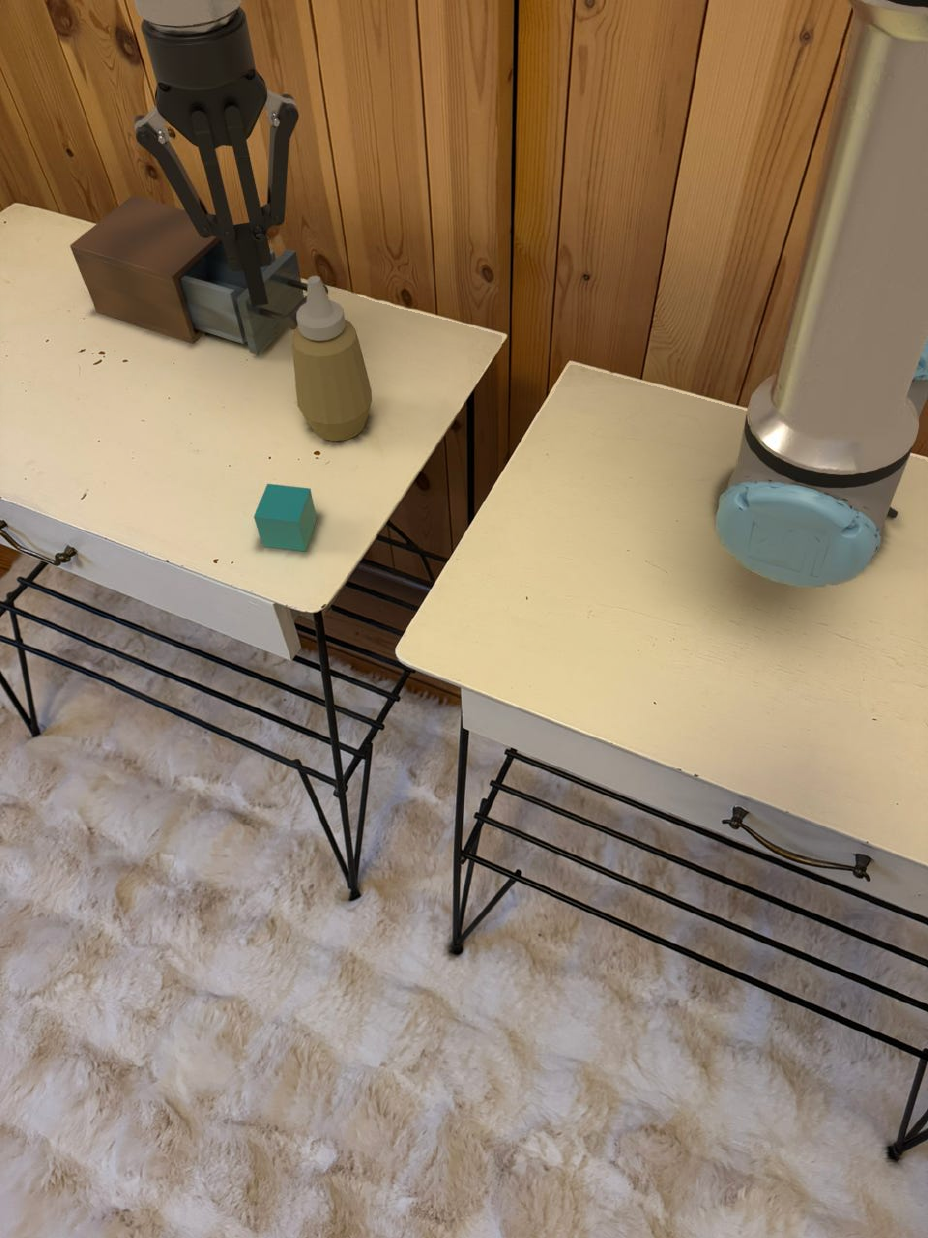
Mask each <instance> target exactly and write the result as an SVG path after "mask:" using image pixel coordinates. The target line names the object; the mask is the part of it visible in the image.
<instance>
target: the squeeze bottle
mask: <svg viewBox="0 0 928 1238" xmlns="http://www.w3.org/2000/svg"><path fill="white" fill-rule="evenodd" d="M307 284H308V288H307V291H306V296H307V302H306V303H305V304H303V305H302V306H301V307H300V308H299V309H298V311H297V314H296V319H297V324H298V326H297V327H296V328H295V329H294V330H293V331H292V333H291V350H292V360H293V372H294V373H293V374H294V383H295V394H296V407H297V408H298V410H299V411H300V412H301V414H302V416H303V417H304V419H305V420H306V421H307V423H308V425H309V426H310V428H311V429H312V430H313V431H314V433H315V434H316V435H317V436H318V437H319V438H322V439H323V440H326V441H331V442H340V441H343V442H344V441H347V440H350V439H353V438H355V437H356V436H358V435H359V434H360V433H362V431H363V430H364V428H365V426H366V423H367V421H368V417H369V413H370V409H371V405H372V402H373V391H372V385H371V382H370V379H369V375H368V370H367V367H366V364H365V358H364V356H363V352H362V348H361V345H360V340H359V337H358V332H357V329H356V327H355V326H354V325H353V323H352V322H351V321H350V320H347V318H346V317H345V309H344V307H343V306H342V304H340V303H339V302H338V301H335V300H333V299H330V298H329V296H328V295H327V293H326V291H325V289H324V286H323V284H324V283H323V281H322V279H321V277H320V276H318V275H312V276H310V277H308V279H307Z"/></svg>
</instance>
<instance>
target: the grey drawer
mask: <svg viewBox="0 0 928 1238" xmlns="http://www.w3.org/2000/svg"><path fill="white" fill-rule="evenodd" d="M270 253H271V258H272V262H271V265H269V266H263V267H260V268H261V273H262V277H263V282H264V286H265V291H266V295H267V299H268V304H265V305H259V306H254V307H252V303H251V299H250V295H249V290H248V286H247V282H246V278H245V274H244V270H241V271H236V272H233V271H232V270H231V269H230V267H229V264H228V260H227V256H226V252H225V248H224V244H223V241H222V240H220V241H219V242H218V243H217V244H216V245H215V246H214V247H213V248H211V249H210V250H209V251H208V252H207V253H206V254H205V255H204V256H203V257H202V258H201V259H199V260H198V261H197V262H196V263H195V264H194V265H193V266H192V267H191V268H190V269H188V270H187V271H186V272H185V273H184V274H183V275H182V276H181V277H180V278H179V279H178V280H179V284H180V287H181V290H182V293H183V296H184V300H185V303H186V306H187V309H188V312H189V316H190V319H191V322H192V325H193V328H195V329H198V330H201V331H204V332H205V333H207V334H211V335H215V336H217V337H220V338H223V339H226V340H229V341H233V342H235V343H239V344H241V345H244V344H245V343H246V342H247V346H248V350H249V353H250V354H253V355H255V356H259V355H261V354H262V353H263V351H265V349H266V348H267V347H268V346H269V345H270V344H271V343H272V342H273V341H274V340H275V339H276V338H277V336H279V334H280V333H282V331H283V330H284V329H285V328H286V327H287V328H288V329H289V330H291V331H292V330H293V331H294V330H295V328H296V327H297V326H298V324H297V319H296V314H297V311H298V309H299V308H300V307H301V306H302V305H303V304H305V303H306V302H307V295H305V294H304V292H307V288H308V283H307V282H306V283H305V282H302V278H301V273H300V272H301V271H300V267H299V261H298V256H297V252H296V251H295V250H292V249H289V248H286V249H285V250H284V251H283V252H282V253H281V254H280V255H279V256H277V257H276V253H275V250H273V249H270ZM322 284H323V286H324V289H325V291H326V293H327V296H328V295H329V289H328V287H327V285H325V284H324V283H322Z"/></svg>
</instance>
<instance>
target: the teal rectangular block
mask: <svg viewBox="0 0 928 1238" xmlns="http://www.w3.org/2000/svg"><path fill="white" fill-rule="evenodd" d="M261 495H262V496H261V498H260V501H259V503H258V506H257V508H256V511H255V513H254V516H253V519H254V522H255V526H256V528H257V531H258V534H259V538H260V541H261V545H262V547H264V548H272V549H279V550H280V549H282V550H288V551H297V552H307V549H308V547H309V544H310V542H311V541H310V540H311V538H312V535H313V532H314V529H315V527H316V523H317V520H318V515H317V512H316V507H315V502H314V498H313V494H312V490H311V488H309V487H299V486H291V485H283V484H274V483H266V486H265V488H264V491H263V493H262V494H261Z"/></svg>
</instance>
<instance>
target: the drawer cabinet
mask: <svg viewBox="0 0 928 1238" xmlns="http://www.w3.org/2000/svg"><path fill="white" fill-rule="evenodd" d="M220 240H221V239H220V238H218V237H215V236H210V237H209V238H203V237H201V236H200V235H199V234H198V232H197V230H196V228H195V226H194V225H193V223H192V221H191V219H190V218H189V216H188V214H187V212H186V211H185V209H182V208H178V207H175V206H171V205H169V204H164V203H161V202H157V201H154V200H150V199H146V198H143V197H140V196H136V195H131V196H129V197H128V198H127V199H125V201H124V202H122V203H121V204H120V205H118V206H117V207H116V208H115V209H114V210H112V211H111V212H110V213H108V214H107V215H106V216H105V217H103V218H102V219H100V221H98V222H97V223H96V224H95V225H93V226H92V227H91V228H90V229H88V230H87V231H86V232H85V233H84V234H82V235H81V236H80V237H79V238H77V239H76V240H75V241H73V242H72V243H71V244H70V245H69V248H70V250H71V253H72V255H73V257H74V261H75V262H76V265H77V268H78V270H79V272H80V275H81V277H82V280H83V282H84V284H85V287H86V290H87V292H88V294H89V297H90V299H91V302H92V304H93V307H94V309H95V311H96V313H98V314H100V315H104V316H107V317H110V318H113V319H116V320H119V321H123V322H125V323H128V324H132V325H133V326H138V327H140V328H143V329H147V330H150V331H153V332H156V333H159V334H162V335H165V336H168V337H170V338H174V339H177V340H181V341H182V342H186V343H190V344H192V345H194V344H195V343H196V342H197V341H198V340H199V339H200V338H201V337H202V336H203V335H204V334H205V333H206V332H204V331H201V330H198V329H195V328H193V325H192V322H191V319H190V316H189V312H188V309H187V306H186V303H185V300H184V296H183V293H182V290H181V287H180V284H179V280H178V279H179V278H180V277H181V276H182V275H183V274H184V273H185V272H186V271H187V270H188V269H190V268H191V267H192V266H193V265H194V264H195V263H196V262H197V261H198V260H199V259H201V258H202V257H203V256H204V255H205V254H206V253H207V252H208V251H209V250H210V249H211V248H213V247H214V246H215V245H216V244H217V243H218V242H219V241H220Z"/></svg>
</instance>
